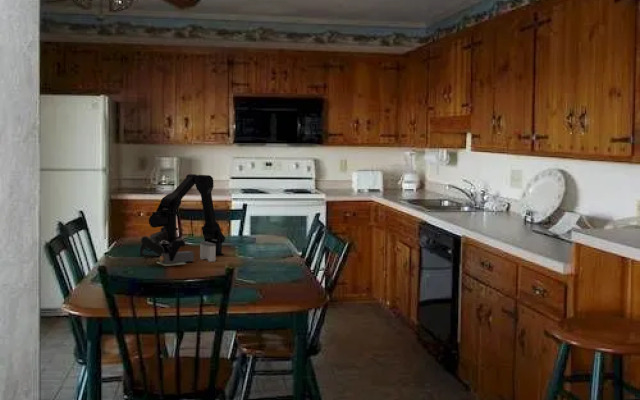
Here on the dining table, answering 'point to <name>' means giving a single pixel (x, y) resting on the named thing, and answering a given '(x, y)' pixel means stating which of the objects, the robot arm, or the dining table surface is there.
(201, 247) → the clip
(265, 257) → the dining table surface
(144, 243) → the gun
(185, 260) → the grey tall block
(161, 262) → the mat
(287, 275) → the dining table surface
